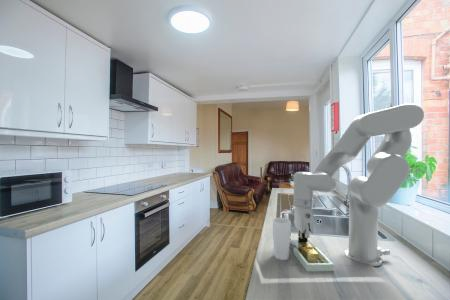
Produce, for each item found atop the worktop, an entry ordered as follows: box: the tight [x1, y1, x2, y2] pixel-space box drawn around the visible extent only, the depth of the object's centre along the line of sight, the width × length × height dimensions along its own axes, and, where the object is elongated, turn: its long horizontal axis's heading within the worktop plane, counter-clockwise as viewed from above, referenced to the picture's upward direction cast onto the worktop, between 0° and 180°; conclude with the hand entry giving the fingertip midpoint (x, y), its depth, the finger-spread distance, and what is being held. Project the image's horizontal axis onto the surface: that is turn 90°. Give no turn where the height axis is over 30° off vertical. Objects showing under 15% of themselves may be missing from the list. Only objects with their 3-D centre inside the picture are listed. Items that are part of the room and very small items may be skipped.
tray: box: [293, 246, 335, 272], centre depth 83 cm, size 9×13×3 cm
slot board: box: [289, 238, 316, 252], centre depth 95 cm, size 8×12×3 cm
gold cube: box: [298, 242, 313, 256], centre depth 88 cm, size 4×4×4 cm
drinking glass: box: [272, 217, 292, 261], centre depth 86 cm, size 7×7×15 cm
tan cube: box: [303, 249, 319, 263], centre depth 84 cm, size 4×4×4 cm
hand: (302, 247), depth 92 cm, fingers closed
